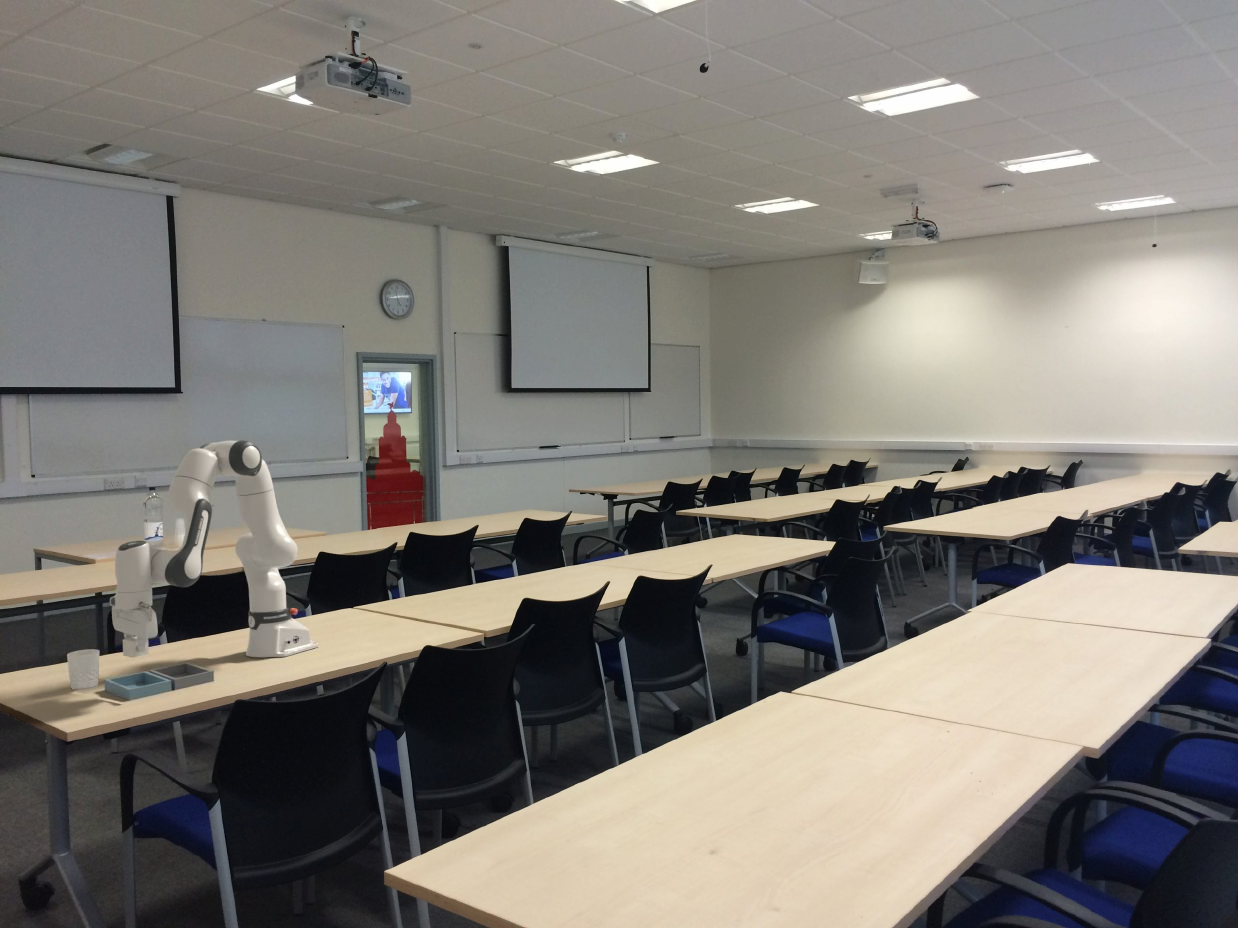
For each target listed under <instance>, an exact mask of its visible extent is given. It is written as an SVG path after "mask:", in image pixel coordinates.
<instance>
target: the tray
mask: <svg viewBox="0 0 1238 928" xmlns="http://www.w3.org/2000/svg"><path fill="white" fill-rule="evenodd" d="M148 672H149V673H152V674H155V675H157V676H160V677H163V678H166V679H168V680H171V689H172V690H174V691H177V690H182V689H187V688H191V687H196V686H199V685H204V684H208V683H213V682H214V681H215V676H214V675H215V673H214V670H212V669H209V668H205V667H202V666H199V665H197V664H194V663H190V662H184V663H182V662H181V663H179V664H174V665H173V664H172V665H168V666H163V667H160V668H154V669H150V670H149V669H148Z"/></svg>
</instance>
